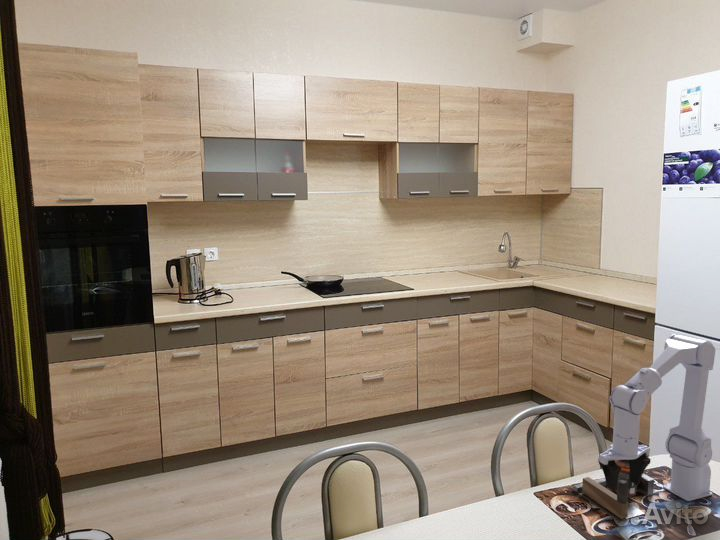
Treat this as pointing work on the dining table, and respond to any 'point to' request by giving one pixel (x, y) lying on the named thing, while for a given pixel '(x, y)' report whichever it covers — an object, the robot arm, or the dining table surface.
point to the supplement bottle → (626, 477)
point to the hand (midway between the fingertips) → (622, 485)
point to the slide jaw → (608, 496)
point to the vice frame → (644, 487)
